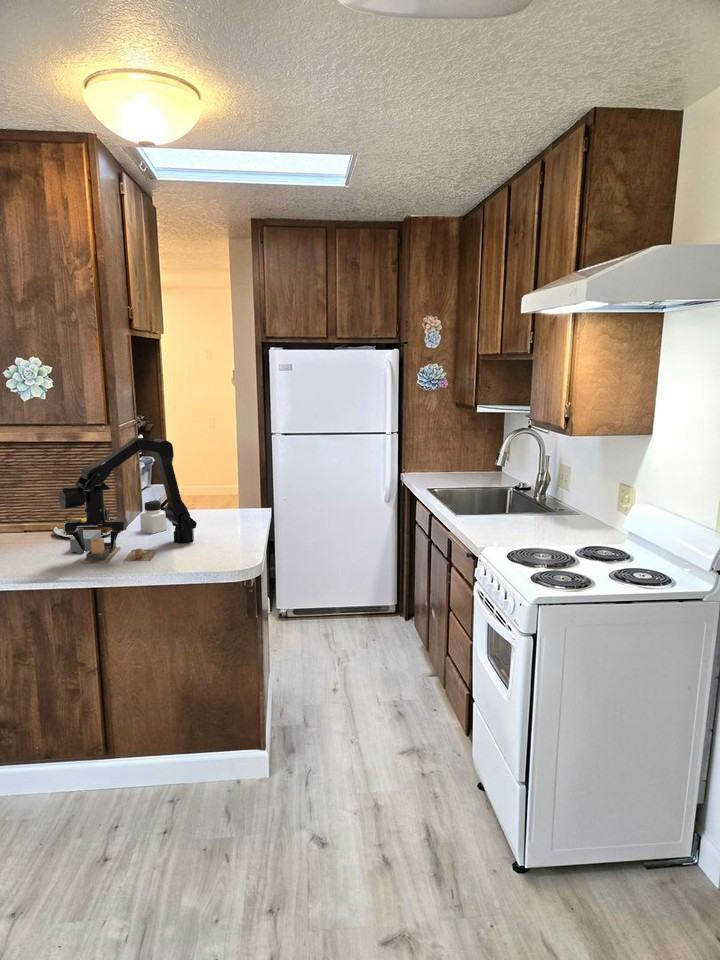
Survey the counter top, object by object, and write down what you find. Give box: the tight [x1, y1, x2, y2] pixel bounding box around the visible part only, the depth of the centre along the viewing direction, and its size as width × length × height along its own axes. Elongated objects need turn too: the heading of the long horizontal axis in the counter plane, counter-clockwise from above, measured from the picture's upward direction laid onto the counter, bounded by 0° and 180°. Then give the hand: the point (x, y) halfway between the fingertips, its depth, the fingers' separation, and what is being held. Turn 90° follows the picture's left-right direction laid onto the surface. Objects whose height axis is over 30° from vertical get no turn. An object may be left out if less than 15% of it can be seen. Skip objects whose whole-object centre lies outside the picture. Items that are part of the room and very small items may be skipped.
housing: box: [69, 530, 102, 553], centre depth 224 cm, size 7×12×5 cm, turn 7°
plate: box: [123, 548, 159, 562], centre depth 214 cm, size 9×13×4 cm
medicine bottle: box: [139, 499, 168, 534], centre depth 247 cm, size 7×7×12 cm
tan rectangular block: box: [91, 538, 105, 554], centre depth 209 cm, size 3×3×6 cm
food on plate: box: [52, 516, 111, 539], centre depth 245 cm, size 25×25×7 cm
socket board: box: [81, 541, 121, 565], centre depth 213 cm, size 8×16×4 cm, turn 6°
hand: (98, 549), depth 209 cm, fingers open, 9 cm apart
